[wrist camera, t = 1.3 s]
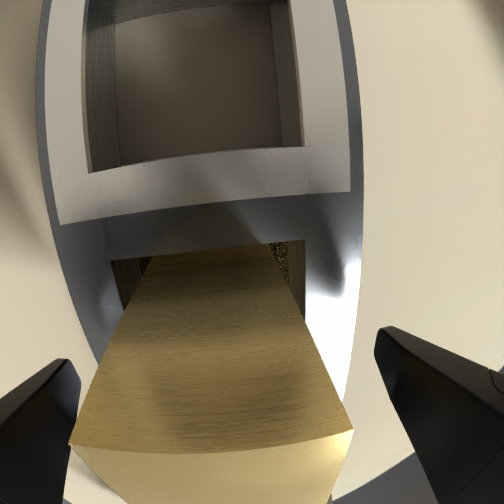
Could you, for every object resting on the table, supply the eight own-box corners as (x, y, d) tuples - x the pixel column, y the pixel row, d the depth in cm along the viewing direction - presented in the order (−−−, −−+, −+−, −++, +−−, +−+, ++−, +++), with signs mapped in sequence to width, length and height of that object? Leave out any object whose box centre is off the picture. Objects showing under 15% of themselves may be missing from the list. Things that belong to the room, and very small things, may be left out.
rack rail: (308, -35, 7) (331, -71, 4) (313, 450, 16) (323, 483, 13) (77, -6, 6) (46, -34, 4) (180, 464, 15) (178, 498, 13)
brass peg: (266, 239, 11) (353, 429, 3) (271, 331, 12) (322, 513, 5) (156, 251, 10) (68, 443, 3) (176, 340, 12) (153, 524, 4)
